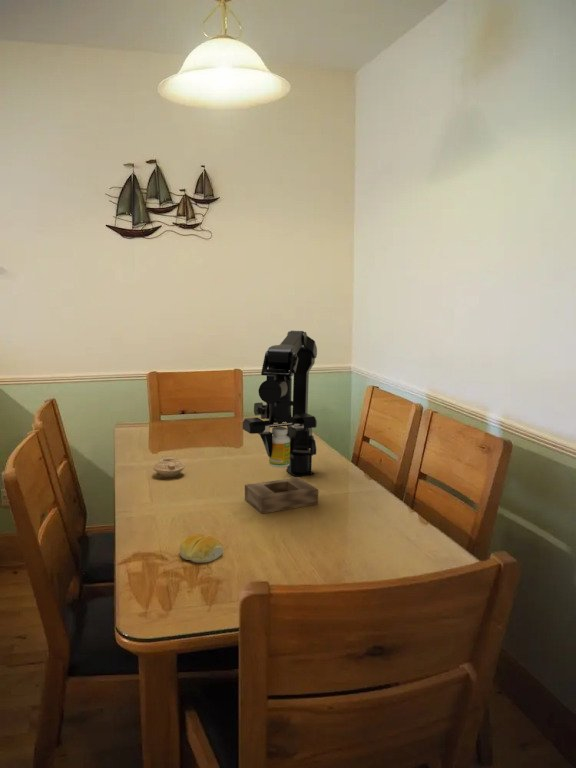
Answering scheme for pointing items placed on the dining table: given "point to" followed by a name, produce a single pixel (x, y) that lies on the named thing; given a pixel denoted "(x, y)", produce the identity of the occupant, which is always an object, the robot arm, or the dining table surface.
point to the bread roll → (200, 548)
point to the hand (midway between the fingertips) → (279, 455)
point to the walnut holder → (281, 495)
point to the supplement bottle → (280, 448)
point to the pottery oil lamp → (169, 466)
